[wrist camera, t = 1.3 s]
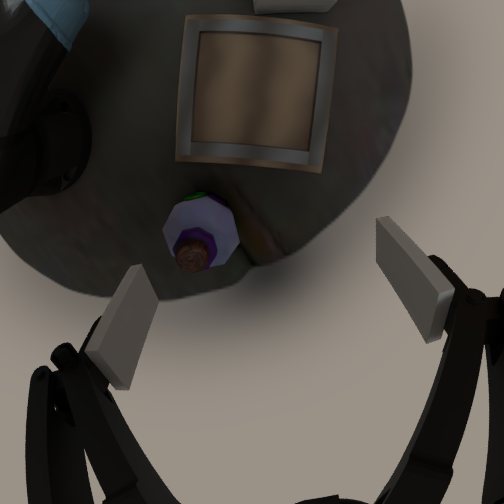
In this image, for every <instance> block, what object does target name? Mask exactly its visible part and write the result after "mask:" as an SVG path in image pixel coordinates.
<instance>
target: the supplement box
mask: <svg viewBox="0 0 504 504" xmlns="http://www.w3.org/2000/svg"><path fill="white" fill-rule="evenodd" d="M337 1H338V0H253V5H254V11H255V14H256V15H259V14H272V13H294V12H328V11H329V10H330V9H331V8H332V6H333V5H334V4H335V3H336V2H337Z"/></svg>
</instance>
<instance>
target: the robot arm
mask: <svg viewBox="0 0 504 504" xmlns="http://www.w3.org/2000/svg"><path fill="white" fill-rule="evenodd" d="M89 12H90V5H89V2H88V0H0V214H1V213H3V212H4V211H6V210H7V209H9V208H10V207H12V206H13V205H15V204H16V203H18V202H20V201H21V200H23V199H24V198H26V197H32V196H47V195H53V194H56V193H59V192H61V191H62V190H64V189H66V188H68V187H69V186H71V185H72V184H73V183H74V182H75V181H76V180H77V179H78V178H79V177H80V175H81V174H82V172H83V171H84V169H85V167H86V164H87V162H88V158H89V154H90V149H91V129H90V123H89V120H88V117H87V114H86V112H85V110H84V108H83V106H82V105H81V103H80V102H79V101H78V100H77V99H76V98H75V97H74V96H73V95H71V94H69V93H67V92H65V91H60V90H52V91H46V90H47V88H48V86H49V84H50V82H51V80H52V78H53V77H54V75H55V73H56V71H57V69H58V68H59V66H60V64H61V62H62V61H63V59H64V57H65V56H66V54H67V52H68V51H69V52H70V50H71V48H72V43H73V41H74V40H75V38H76V36H77V34H78V33H79V31H80V29H81V28H82V26H83V25H84V23H85V22H86V20H87V18H88V16H89ZM376 262H377V264H378V265H379V267H380V268H381V270H382V271H383V273H384V274H385V276H386V277H387V279H388V281H389V282H390V284H391V285H392V287H393V288H394V290H395V292H396V293H397V295H398V296H399V298H400V300H401V301H402V303H403V304H404V306H405V308H406V309H407V311H408V313H409V314H410V316H411V318H412V320H413V321H414V323H415V325H416V326H417V328H418V330H419V332H420V333H421V335H422V337H423V338H424V340H425V342H426V344H427V343H430V342H433V341H436V340H439V339H441V337H442V333H443V330H445V331H446V333H447V334H448V337H447V340H446V343H445V345H444V348H443V354H442V358H441V361H440V364H439V367H438V371H437V374H436V377H435V380H434V383H433V386H432V388H431V391H430V394H429V397H428V400H427V402H426V405H425V408H424V410H423V412H422V415H421V417H420V419H419V422H418V424H417V427H416V429H415V431H414V433H413V436H412V438H411V440H410V442H409V444H408V446H407V448H406V450H405V452H404V454H403V456H402V458H401V460H400V462H399V464H398V466H397V468H396V469H395V471H394V473H393V475H392V476H391V478H390V480H389V481H388V483H387V484H386V486H385V487H384V489H383V490H382V492H381V494H380V495H379V497H378V498H377V500H376V501H375V503H374V504H440V503H441V501H442V499H443V497H444V495H445V493H446V491H447V488H448V486H449V484H450V481H451V478H452V476H453V468H452V465H453V462H454V459H455V457H456V454H457V451H458V449H459V446H460V443H461V440H462V437H463V434H464V431H465V428H466V424H467V421H468V417H469V414H470V410H471V406H472V403H473V399H474V395H475V390H476V386H477V381H478V376H479V371H480V366H481V359H482V353H483V347H484V345H485V350H486V359H487V369H488V384H489V441H488V454H487V464H486V472H485V480H484V486H483V495H482V504H504V288H503V289H502V292H501V294H500V297H486V296H485V294H484V293H483V292H481V291H480V290H477V289H471V288H469V289H468V287H467V286H466V285H465V284H464V283H463V282H462V281H461V279H460V278H459V277H458V276H457V275H456V274H455V273H454V272H453V270H452V269H451V268H450V267H448V265H447V264H446V263H445V262H444V261H443V260H442V259H441V258H439V257H437V256H435V255H430V256H426V254H424V252H423V251H422V250H421V249H420V248H419V247H418V246H417V245H416V244H415V243H414V242H413V241H412V240H411V238H410V237H409V236H408V235H407V234H406V233H405V232H403V230H402V229H401V228H400V227H399V226H398V225H397V224H396V223H395V222H393V220H392V219H391V218H390V217H389V216H386V217H381V218H376ZM158 303H159V300H158V298H157V296H156V294H155V292H154V290H153V288H152V286H151V283H150V281H149V279H148V277H147V275H146V273H145V270H144V268H143V266H142V264H139V265H134V266H130V268H129V270H128V271H127V273H126V275H125V276H124V278H123V280H122V281H121V283H120V285H119V287H118V288H117V290H116V292H115V294H114V295H113V297H112V299H111V301H110V303H109V305H108V306H107V308H106V310H105V312H104V314H103V315H102V316H100V317H99V318H98V319H97V320H96V321H95V322H94V324H93V325H92V327H91V329H90V332H89V333H88V335H87V337H86V339H85V341H84V343H83V345H82V347H81V349H80V351H79V353H77V351H76V350H75V349H74V347H73V346H72V345H71V343H68V342H67V343H63V344H61V345H59V346H58V347H56V348H55V349H54V351H53V352H52V354H51V358H50V360H51V361H52V362H53V363H54V365H55V366H56V367H57V368H58V369H59V370H57V371H54V372H52V371H51V370H50V369H49V368H48V366H40V367H39V368H37V369H36V370H35V371H34V373H33V374H32V376H31V381H30V388H29V397H28V407H27V420H26V444H25V446H26V447H25V448H26V449H25V459H26V460H25V461H26V484H27V496H28V504H94V501H93V496H92V492H91V487H90V482H89V477H88V471H87V466H86V459H85V452H84V449H85V451H86V454H87V456H88V459H89V461H90V464H91V466H92V468H93V471H94V473H95V475H96V477H97V479H98V481H99V484H100V486H101V488H102V490H103V492H104V494H105V496H106V499H105V500H104V501H102V502H103V503H102V504H181V503H179V502H178V501H177V500H176V498H175V497H174V496H173V495H172V493H171V492H170V490H169V489H168V488H167V486H166V485H165V484H164V482H163V481H162V479H161V478H160V476H159V475H158V474H157V472H156V471H155V469H154V468H153V466H152V465H151V463H150V462H149V460H148V458H147V457H146V455H145V454H144V452H143V450H142V449H141V447H140V446H139V444H138V442H137V441H136V439H135V437H134V435H133V434H132V432H131V430H130V429H129V427H128V425H127V423H126V421H125V419H124V418H123V416H122V414H121V412H120V410H119V408H118V406H117V404H116V402H115V400H114V398H113V396H112V394H111V392H110V391H109V390H108V389H107V388H108V385H109V383H110V384H111V385H112V386H113V387H114V388H115V389H116V390H129V388H130V385H131V382H132V379H133V376H134V373H135V369H136V366H137V363H138V360H139V357H140V354H141V351H142V348H143V345H144V342H145V339H146V337H147V334H148V331H149V328H150V325H151V322H152V319H153V317H154V314H155V311H156V309H157V306H158ZM55 408H56V410H55ZM295 504H368V503H365V502H362V501H358V500H352V499H339V496H338V495H333V496H327V497H322V498H316V499H310V500H304V501H301V502H298V503H295Z"/></svg>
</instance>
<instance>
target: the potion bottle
mask: <svg viewBox="0 0 504 504" xmlns="http://www.w3.org/2000/svg"><path fill="white" fill-rule="evenodd" d="M185 200H186V201H185ZM162 231H163V234H164V236H165V239H166V242H167V244H168V247H169V250H170V252H171V255H172V256H173V257H175V258H176V261H177V264H178V266H179V267H180V268H181V269H182V270H183V271H186V272H192V273H195V272H198V271H201V270H203V269H208V268H209V267H212V266H217V265H223V264H225V263H226V261H227V260H228V258H229V257H230V255H231V254H232V253H233V251H234V250H235V248H236V247H237V245H238V244H239V242H240V241H239V237H238V233H237V229H236V226H235V222H234V218H233V214H232V212H231V210H230V207H228V204H227V201H226V200H225V199H223V198H221V197H219V196H218V195H216V194H214V193H213V192H210V193H205V192H195V193H192V194H190V195H188V196H186V197H185V198H184V201H183V202H181V203H179V204H176V205H175V206H174V208H173V210H172V212H171V213H170V215H169V217H168V219H167V221H166V223H165V225H164V227H163V229H162Z"/></svg>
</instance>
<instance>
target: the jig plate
mask: <svg viewBox="0 0 504 504" xmlns="http://www.w3.org/2000/svg"><path fill="white" fill-rule="evenodd" d="M337 40H338V28H334V27H329V26H325V25H319V24H314V23H309V22H303V21H296V20H289V19H282V18H273V17H263V16H250V15H227V14H203V15H186V19H185V27H184V35H183V44H182V53H181V64H180V75H179V88H178V103H177V122H176V149H175V161H183V162H206V163H224V164H238V165H250V166H262V167H272V168H282V169H291V170H299V171H307V172H315V173H321V171H322V164H323V158H324V151H325V144H326V137H327V130H328V123H329V115H330V107H331V99H332V90H333V81H334V72H335V62H336V51H337Z"/></svg>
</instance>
